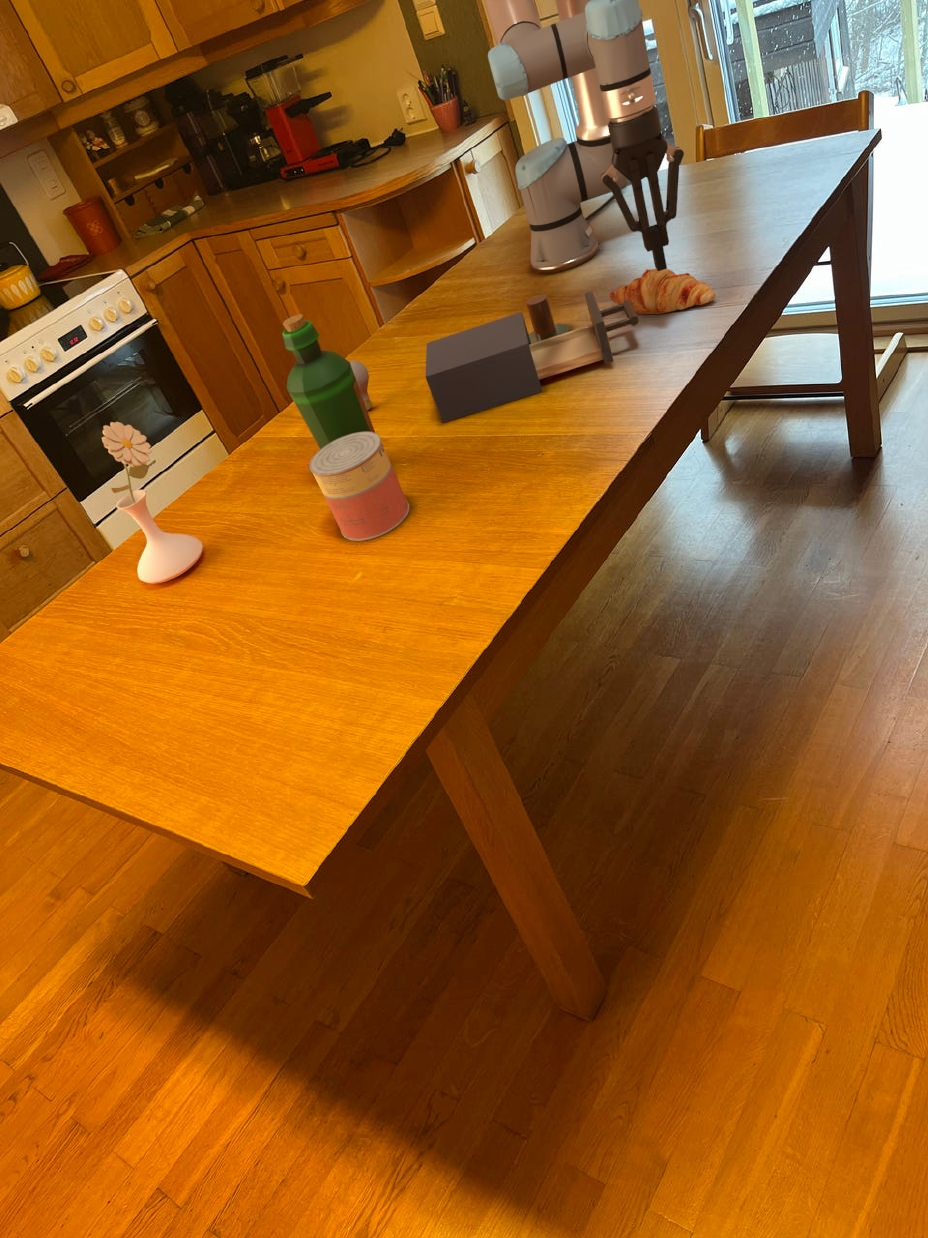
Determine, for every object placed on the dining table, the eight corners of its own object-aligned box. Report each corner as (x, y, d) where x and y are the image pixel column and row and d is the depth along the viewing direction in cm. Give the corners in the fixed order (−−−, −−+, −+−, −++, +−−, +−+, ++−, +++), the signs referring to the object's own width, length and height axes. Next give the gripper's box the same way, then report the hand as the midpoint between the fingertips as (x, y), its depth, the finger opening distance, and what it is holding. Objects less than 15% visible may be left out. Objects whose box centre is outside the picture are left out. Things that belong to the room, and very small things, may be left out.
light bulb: (386, 401, 172) (366, 353, 166) (373, 416, 168) (353, 367, 163) (363, 403, 175) (343, 356, 169) (350, 418, 171) (329, 371, 165)
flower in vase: (174, 593, 141) (84, 458, 126) (130, 586, 148) (40, 457, 133) (227, 542, 149) (148, 409, 134) (183, 538, 155) (103, 410, 140)
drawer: (632, 318, 161) (624, 279, 157) (647, 350, 149) (639, 309, 145) (504, 360, 165) (493, 323, 161) (509, 394, 154) (496, 355, 149)
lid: (523, 336, 175) (512, 298, 170) (567, 321, 173) (557, 283, 169) (526, 353, 168) (515, 315, 163) (572, 338, 166) (562, 299, 162)
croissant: (725, 314, 161) (729, 266, 159) (700, 312, 154) (704, 262, 151) (622, 315, 174) (624, 271, 172) (594, 314, 167) (596, 268, 164)
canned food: (423, 503, 137) (395, 435, 130) (373, 546, 132) (341, 478, 125) (376, 492, 145) (347, 428, 138) (327, 533, 140) (294, 468, 133)
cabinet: (535, 357, 165) (521, 311, 160) (542, 391, 153) (528, 343, 148) (442, 387, 168) (426, 342, 163) (442, 423, 157) (425, 376, 151)
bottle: (402, 454, 152) (336, 297, 136) (379, 491, 145) (307, 329, 128) (349, 462, 157) (279, 310, 140) (324, 497, 150) (247, 341, 133)
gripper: (592, 133, 132) (625, 287, 146) (680, 101, 130) (705, 261, 144) (586, 123, 138) (618, 273, 152) (669, 93, 136) (695, 247, 150)
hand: (661, 267), depth 148 cm, fingers closed
